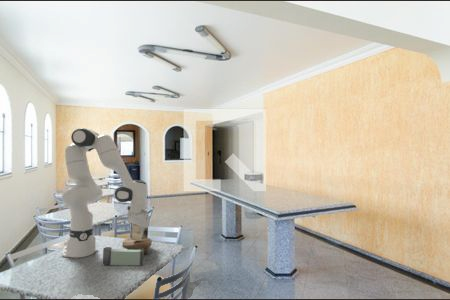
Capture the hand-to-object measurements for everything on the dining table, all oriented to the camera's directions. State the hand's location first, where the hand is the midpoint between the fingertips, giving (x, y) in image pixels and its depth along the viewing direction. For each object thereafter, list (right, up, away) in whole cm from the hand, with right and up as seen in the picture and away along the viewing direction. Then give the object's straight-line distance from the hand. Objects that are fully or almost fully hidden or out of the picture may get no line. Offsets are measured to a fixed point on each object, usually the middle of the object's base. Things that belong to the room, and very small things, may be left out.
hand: (137, 232), depth 160 cm
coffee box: (-4, -14, +15) cm, 20 cm away
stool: (0, -13, 0) cm, 13 cm away
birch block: (0, -4, 0) cm, 4 cm away
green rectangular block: (-4, -12, -14) cm, 19 cm away
